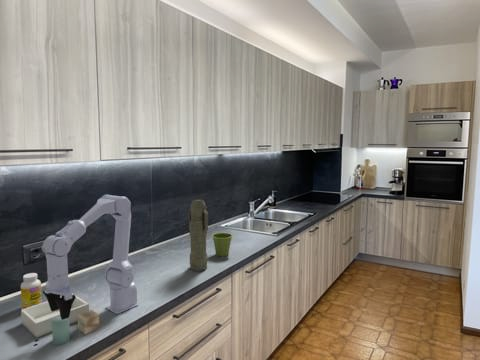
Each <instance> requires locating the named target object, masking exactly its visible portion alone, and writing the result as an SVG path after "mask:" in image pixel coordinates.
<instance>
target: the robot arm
mask: <svg viewBox="0 0 480 360" xmlns="http://www.w3.org/2000/svg"><path fill="white" fill-rule="evenodd" d="M131 206H132V202H131V201H130V200H129V198H128V197H127V196H120V195H119V196H118V195H111V194H108V193H107V194H104V195H102V196H101V197H100V198H98V199H97V201H96V203H95V204H94V205H93V206H92V207H91V208H90V209H89V210H88V211H87V212H86V213H84V215H82V216H81V217H80V219H73V220H69V221H68V222H67V224H66V225H65V226H64V227H63V228H61V229H60V230H59V231H57V232H56V233H55V235H53V234H52V235H50V236H47V238H46V239H44V241H43V243H42V245H41V250H42V252H43V253H44V254H45V259H46V271H47V281H46V282H45V284H46V285H45V286H46V289H44V290H43V291H42V294H43V295H44V296H45V298H46V301H48V303H49V306H50V309H51V311H52V312H53V311H56V310H59V311H60V316H61V319H62V320H63V319H66V318H69V315H70V311H71V307H72V304H73V302H74V300H75V298H76V296H77V295H76V294H74V295H72V293H73V292H72V291H71V288H70V284H69V268H68V266H69V264H68V253H69V252H70V250H71V249H72V246H73V245H74V243H75V242H76V241H78V240H79V239H80V238H82V236H84V234H86V233H87V227H89V226H90V225H91V224H93V223H95V221H97V220H98V219H99V218H100V217H102V216H103V215H111V217H113V218H114V219H115V228H114V229H115V230H114V240H113V251H112V252H113V254H112V261H110V262H108V264H107V268H106V271H105V274H104V280H105V281H106V283H108V284H107V285H108V286H109V298H110V299H109V300H110V302H109V303H110V304H109V305H106V306H105V308H106V309H107V310H109V311H111V312H112V313H114V314H116V315H118V314H121V313H123V312H125V311H127V310H130V309H133V308H135V307H138V306H139V303H138V292H137V291H138V289H137V285H136V284H135V282H134V278H135V275H134V271H133V268H134V267H133V265H132V264H131V262H130V261H129V260H128V258H129V249H130V248H129V247H130V238H131V237H130V236H131V224H132V223H131V222H132V211H131ZM75 295H76V296H75ZM60 297H62V298H60Z"/></svg>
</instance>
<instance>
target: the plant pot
mask: <svg viewBox="0 0 480 360" xmlns="http://www.w3.org/2000/svg"><path fill="white" fill-rule="evenodd" d="M211 237H212V240H213V244H214V251H215V255H216V256H217V257H220V256H221V257H227V256H229V253H230V249H231V248H230V246H231V241H232V237H233V234H232V233H228V232H215V233H213V234H211Z"/></svg>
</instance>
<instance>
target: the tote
mask: <svg viewBox="0 0 480 360" xmlns="http://www.w3.org/2000/svg"><path fill="white" fill-rule="evenodd" d="M72 295H75V296H76V298H75V300H74V302H73V304H72V307H71V311H70V315H69V324H70V325H72V324H75V323H78V315H79V314H82V313H85V312H87V311H90V303H89V302H86V301H85V300H84V299H82V298H81V297H79V296H78V295H76V294H75V293H73V292H72ZM60 298H62V297H61V296H60ZM58 316H60V311H59V310H56V311H53V312H52V311H51V309H50V306H49V303H48V300H46V301H42V303H40V304H37V305H34V306H31V307H28V308H25V309H22V308H21V310H20V317H21V319H20V320H21V324H22V325H23V326H24V327H25V328H26V329H27V330H28V331H29V332H30V333H31V334H32V335H33V336H34V337H35V338H37V339H38V338H41V337H43V336H46V335H48V334H50V333H52V320H53V319H54V318H56V317H58Z"/></svg>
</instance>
